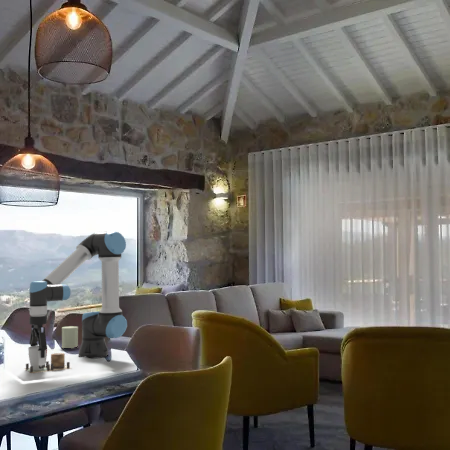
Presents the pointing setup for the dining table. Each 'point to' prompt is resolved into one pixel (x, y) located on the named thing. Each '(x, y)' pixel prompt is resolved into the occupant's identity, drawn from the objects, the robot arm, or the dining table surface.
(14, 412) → the dining table surface
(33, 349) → the cup
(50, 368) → the pin board
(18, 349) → the dining table surface
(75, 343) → the can
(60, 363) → the wooden round post
